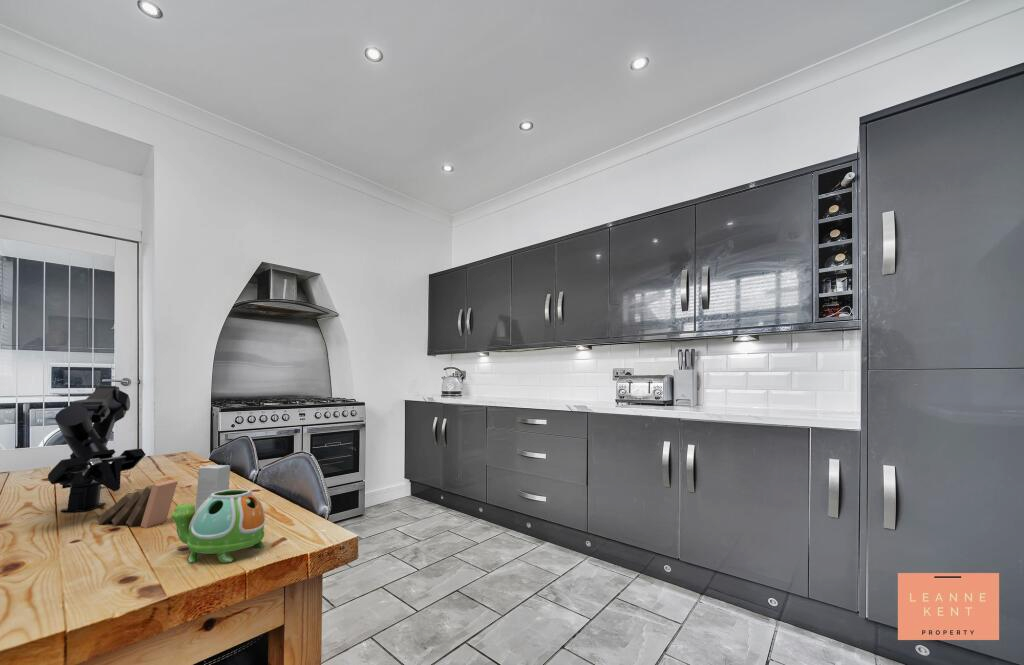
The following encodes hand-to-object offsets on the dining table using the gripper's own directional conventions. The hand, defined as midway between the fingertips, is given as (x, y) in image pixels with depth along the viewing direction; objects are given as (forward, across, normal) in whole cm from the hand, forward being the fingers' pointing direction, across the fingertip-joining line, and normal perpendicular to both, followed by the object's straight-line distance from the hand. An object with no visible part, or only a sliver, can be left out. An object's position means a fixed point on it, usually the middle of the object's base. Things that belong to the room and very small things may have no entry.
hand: (117, 489), depth 108 cm
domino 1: (+4, 0, -6) cm, 7 cm away
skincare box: (+18, -11, +7) cm, 22 cm away
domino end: (+13, 0, +3) cm, 14 cm away
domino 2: (+7, 0, -3) cm, 8 cm away
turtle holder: (+35, +12, +24) cm, 44 cm away
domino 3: (+10, 0, 0) cm, 10 cm away
